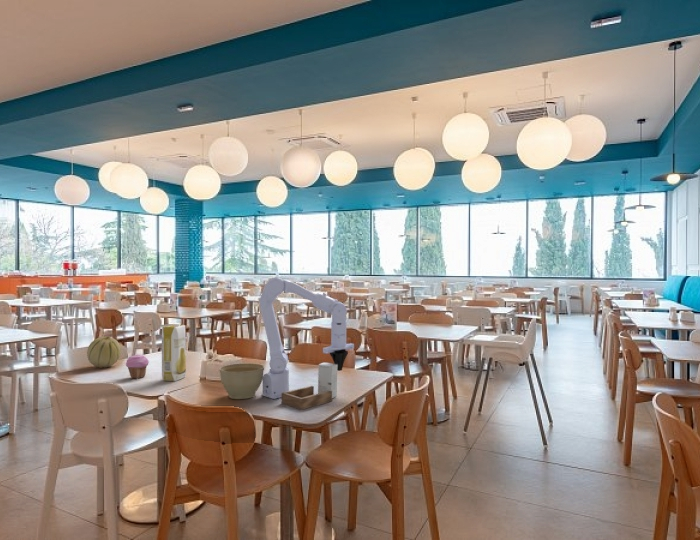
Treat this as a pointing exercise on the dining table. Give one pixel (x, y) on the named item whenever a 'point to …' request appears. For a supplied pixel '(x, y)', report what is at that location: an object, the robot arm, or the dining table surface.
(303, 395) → the walnut cradle
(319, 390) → the skincare box
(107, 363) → the cantaloupe
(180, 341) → the juice carton
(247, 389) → the planter bowl
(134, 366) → the cupcake
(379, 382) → the dining table surface
